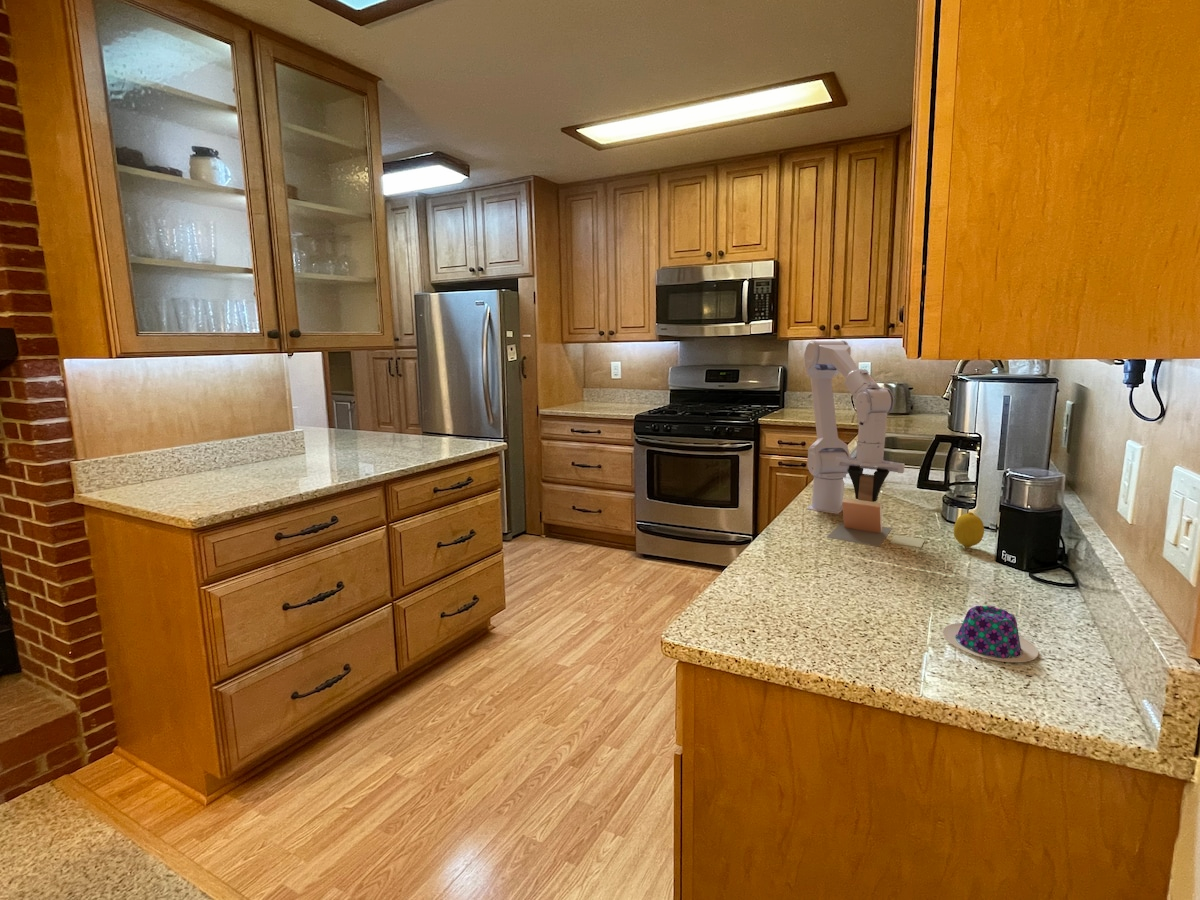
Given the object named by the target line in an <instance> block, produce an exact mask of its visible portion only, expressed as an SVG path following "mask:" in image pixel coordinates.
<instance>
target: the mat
mask: <svg viewBox="0 0 1200 900" xmlns="http://www.w3.org/2000/svg"><path fill="white" fill-rule="evenodd" d="M892 530H893V527H888V526H883V525H882V531H881V533H877V532H871V531H865V530H859V529H853V528H847V527H844V519H843V520H842V521H841V522H840V523H839V524H838V525H837V526H836V527H835V528H834V529H833V530H832V531H831V532H830V533H829V534H828V535H827V536H826V538H829V539H833V540H839V541H844V542H845V541H846V542H851V543H855V544H861V545H867V546H873V547H880V546H881V544H882V543H883V542H884V541H885V540H886V538H887V537H888V535H889V534H890V532H891V531H892Z"/></svg>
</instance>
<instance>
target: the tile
mask: <svg viewBox="0 0 1200 900" xmlns="http://www.w3.org/2000/svg"><path fill="white" fill-rule="evenodd" d="M842 506H843V510H842V516H843V520H844V527H847V528H853V529H859V530H865V531H871V532H877V533H881V531H882V526H883V512H882V511H883V510H882V509H883V508H882V502H877V501H876V502H870V501H863V500H858V499H856V498H848V497H843V502H842Z"/></svg>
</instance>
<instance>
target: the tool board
mask: <svg viewBox="0 0 1200 900" xmlns="http://www.w3.org/2000/svg"><path fill="white" fill-rule="evenodd" d="M925 541H926V539H922V538H915V537H911V536H910V537H908V536H905V535H899V534H898V535H897V534H894V536H893V537H892V538H891V540H890V544H893V545H898V546H899V545H900V546H905V547H909V548H910V547H911V548H915V549H916V548H917V549H922V547H923V545H924V543H925Z"/></svg>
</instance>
